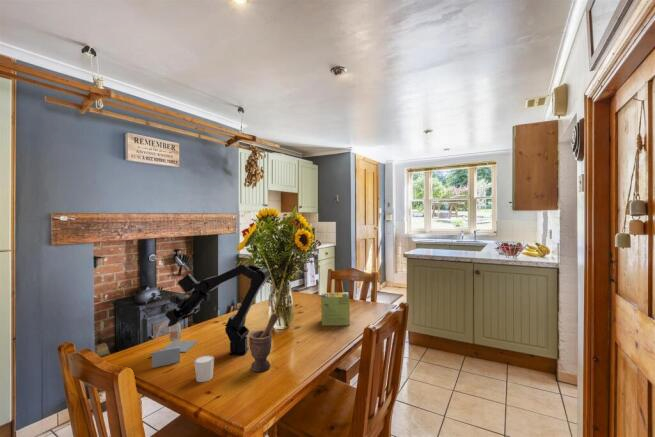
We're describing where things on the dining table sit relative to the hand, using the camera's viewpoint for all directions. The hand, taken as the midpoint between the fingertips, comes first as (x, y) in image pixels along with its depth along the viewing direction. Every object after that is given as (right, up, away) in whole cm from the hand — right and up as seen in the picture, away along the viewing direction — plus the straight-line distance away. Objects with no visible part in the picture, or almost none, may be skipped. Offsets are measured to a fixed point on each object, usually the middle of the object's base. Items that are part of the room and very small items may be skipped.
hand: (172, 324), depth 141 cm
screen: (+5, -11, -15) cm, 19 cm away
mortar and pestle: (+45, -11, -18) cm, 50 cm away
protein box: (+75, -10, +32) cm, 82 cm away
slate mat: (+2, -11, +3) cm, 12 cm away
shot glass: (+25, -11, -26) cm, 38 cm away
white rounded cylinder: (+2, -7, 0) cm, 7 cm away
